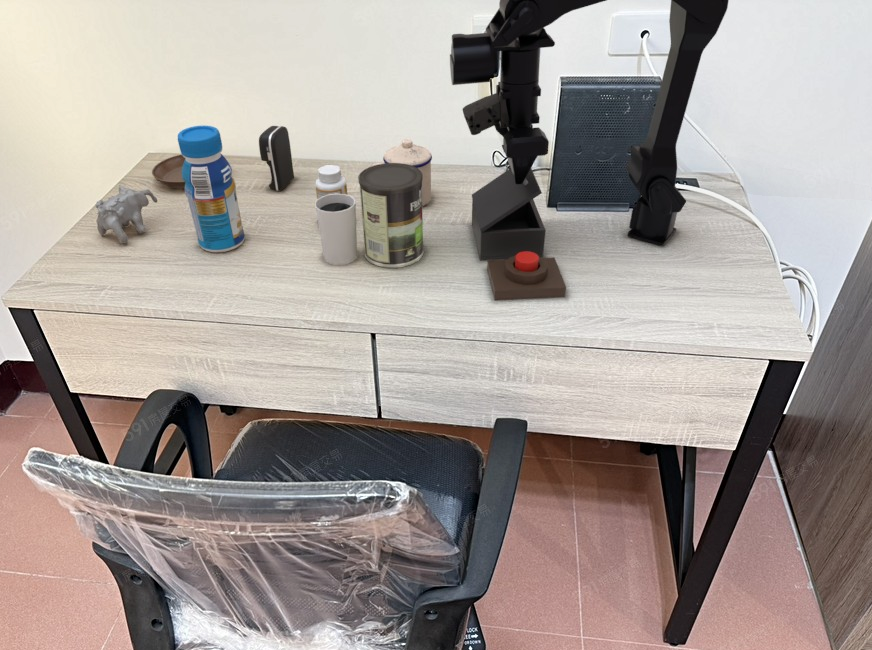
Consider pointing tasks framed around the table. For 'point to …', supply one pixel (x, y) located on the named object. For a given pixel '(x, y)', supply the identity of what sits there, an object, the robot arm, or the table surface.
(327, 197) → the white coffee mug
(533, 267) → the release button
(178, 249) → the table surface
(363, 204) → the coffee can
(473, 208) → the black box
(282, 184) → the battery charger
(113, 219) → the gray elephant figurine
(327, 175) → the supplement bottle
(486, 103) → the robot arm
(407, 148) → the cream enamel canister
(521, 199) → the lid
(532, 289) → the brown button base
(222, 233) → the beverage bottle
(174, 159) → the saucer
